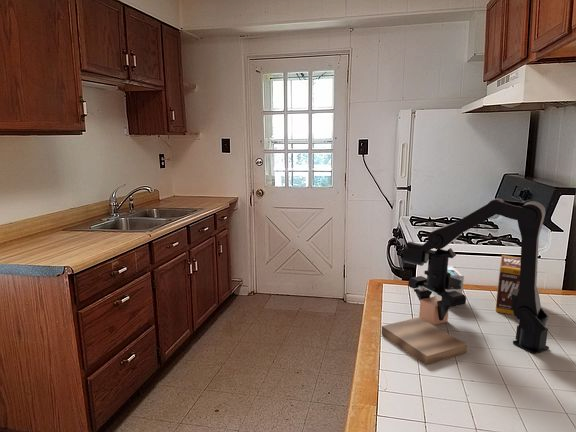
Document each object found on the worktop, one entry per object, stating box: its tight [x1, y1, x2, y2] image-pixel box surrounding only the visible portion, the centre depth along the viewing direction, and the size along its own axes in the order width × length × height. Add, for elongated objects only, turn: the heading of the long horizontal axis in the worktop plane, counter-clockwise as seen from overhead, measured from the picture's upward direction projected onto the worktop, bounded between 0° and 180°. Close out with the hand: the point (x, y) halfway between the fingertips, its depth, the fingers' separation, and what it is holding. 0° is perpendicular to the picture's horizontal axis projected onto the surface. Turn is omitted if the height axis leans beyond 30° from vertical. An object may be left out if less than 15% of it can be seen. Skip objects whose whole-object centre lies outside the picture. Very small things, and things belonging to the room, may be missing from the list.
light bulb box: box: [432, 265, 465, 300], centre depth 145 cm, size 11×7×11 cm, turn 179°
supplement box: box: [495, 255, 521, 316], centre depth 139 cm, size 10×15×16 cm
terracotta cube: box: [418, 295, 450, 326], centre depth 129 cm, size 6×6×6 cm
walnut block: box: [381, 316, 468, 366], centre depth 115 cm, size 18×14×3 cm
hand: (433, 316), depth 130 cm, fingers closed on terracotta cube, 6 cm apart
